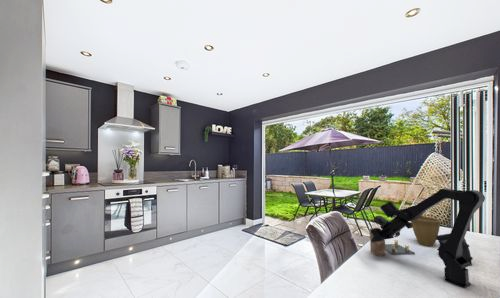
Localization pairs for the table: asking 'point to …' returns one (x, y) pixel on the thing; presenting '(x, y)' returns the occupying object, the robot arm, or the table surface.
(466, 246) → the black shoulder bracket
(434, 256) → the table surface
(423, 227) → the plant pot
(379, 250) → the walnut block
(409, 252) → the standoff plate
